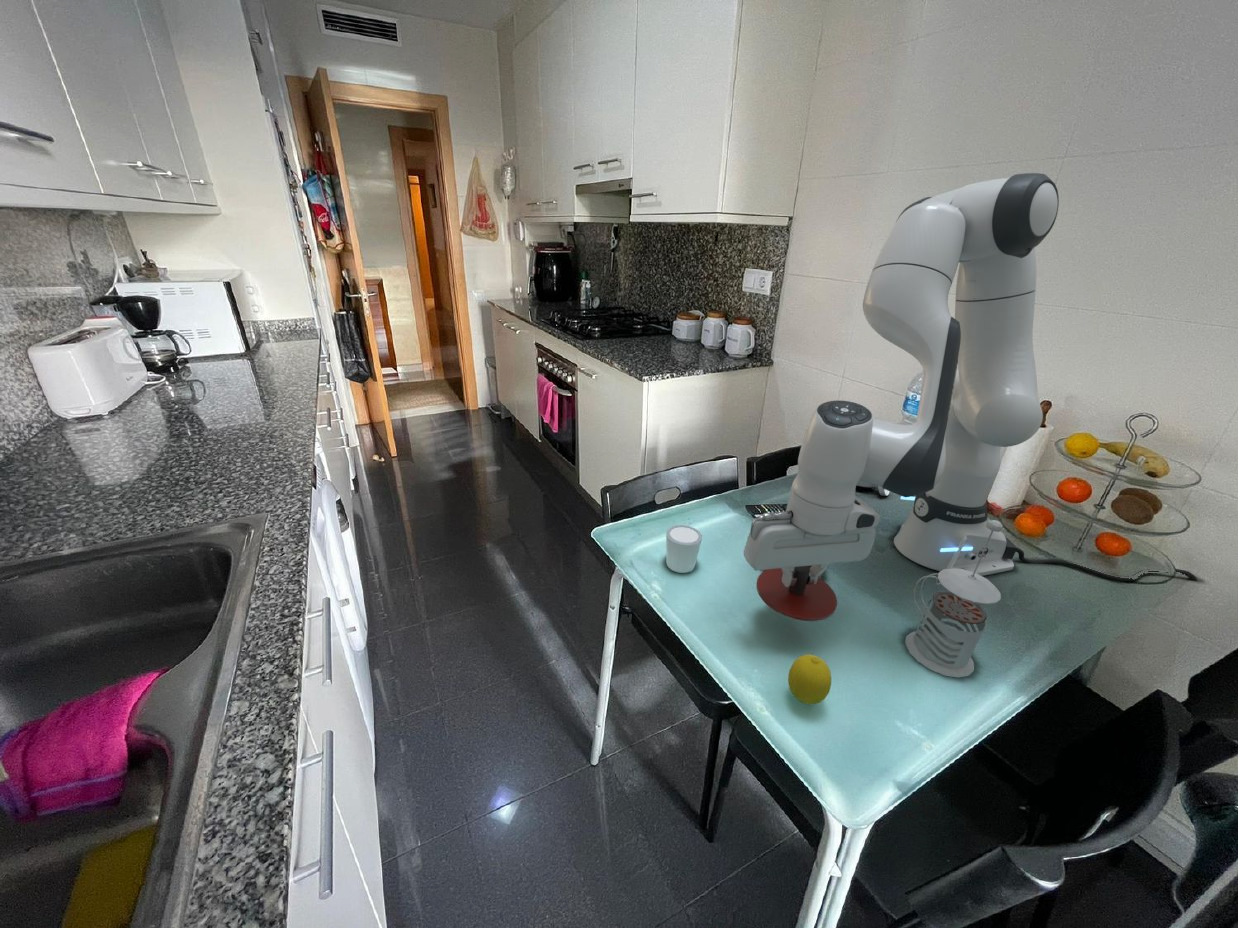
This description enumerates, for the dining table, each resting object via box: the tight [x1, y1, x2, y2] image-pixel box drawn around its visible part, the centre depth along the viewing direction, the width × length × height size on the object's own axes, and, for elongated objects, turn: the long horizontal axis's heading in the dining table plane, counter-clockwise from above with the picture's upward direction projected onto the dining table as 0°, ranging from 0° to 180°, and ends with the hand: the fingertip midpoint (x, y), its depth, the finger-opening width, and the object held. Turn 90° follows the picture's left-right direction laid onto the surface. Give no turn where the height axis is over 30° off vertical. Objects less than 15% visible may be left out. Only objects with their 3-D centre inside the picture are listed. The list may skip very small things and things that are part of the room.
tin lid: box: [755, 566, 838, 622], centre depth 81 cm, size 13×13×6 cm
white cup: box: [665, 524, 703, 574], centre depth 97 cm, size 7×7×7 cm
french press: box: [904, 519, 1004, 679], centre depth 76 cm, size 10×12×25 cm
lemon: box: [787, 654, 832, 705], centre depth 70 cm, size 6×6×8 cm
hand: (798, 583), depth 81 cm, fingers closed on tin lid, 2 cm apart
